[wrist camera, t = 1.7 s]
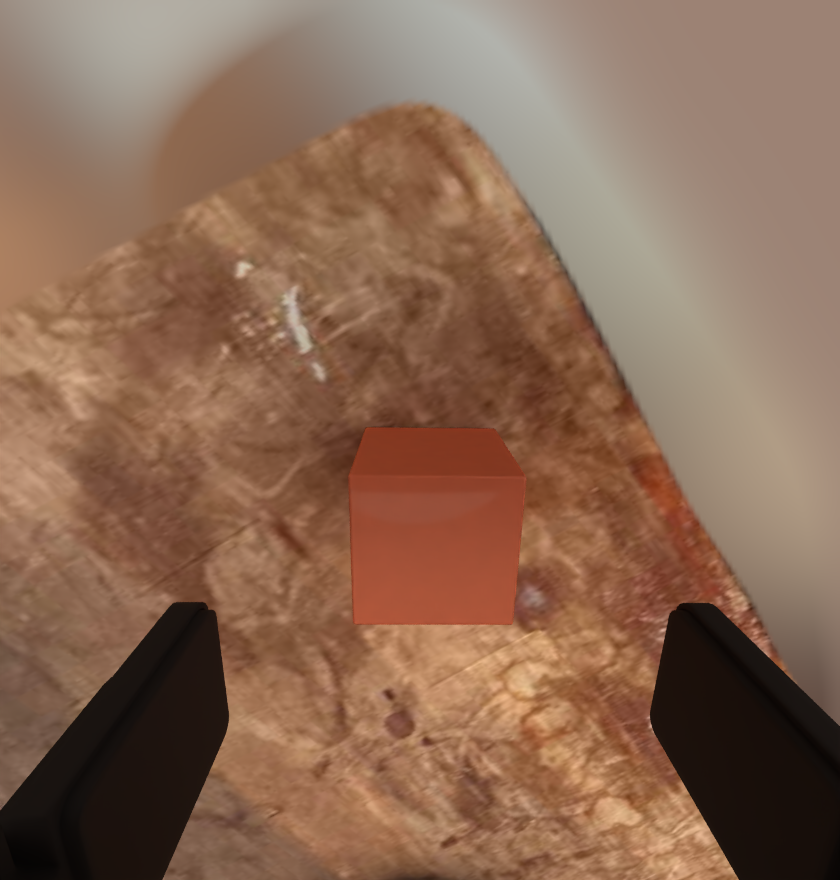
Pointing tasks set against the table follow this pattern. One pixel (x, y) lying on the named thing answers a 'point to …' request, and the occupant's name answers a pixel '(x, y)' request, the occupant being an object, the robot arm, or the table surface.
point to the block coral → (434, 526)
